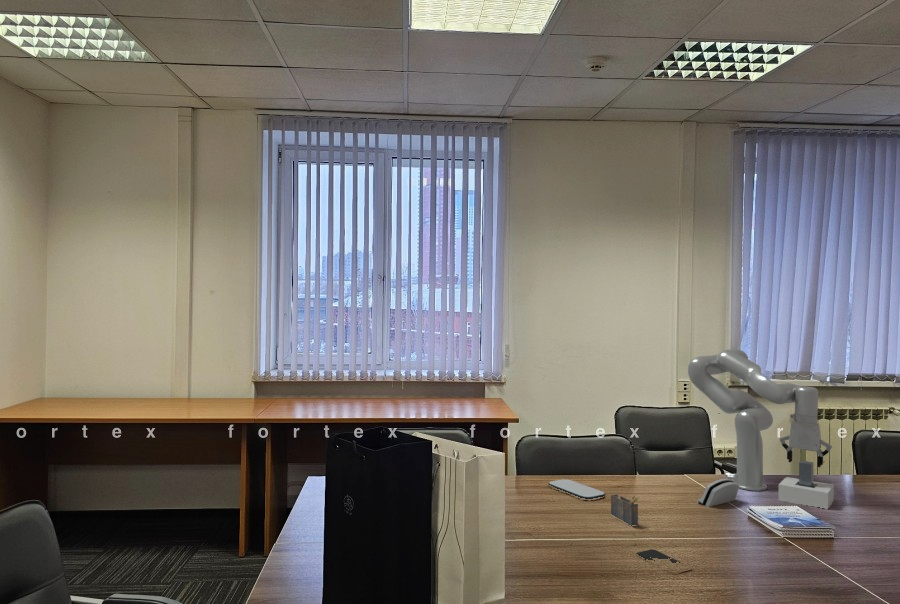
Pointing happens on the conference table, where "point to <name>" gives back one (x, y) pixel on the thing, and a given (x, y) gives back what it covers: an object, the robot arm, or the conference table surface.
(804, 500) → the well block
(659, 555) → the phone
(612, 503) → the grey upright flat piece
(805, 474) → the bracket bar
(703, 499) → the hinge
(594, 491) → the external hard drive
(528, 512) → the conference table surface
